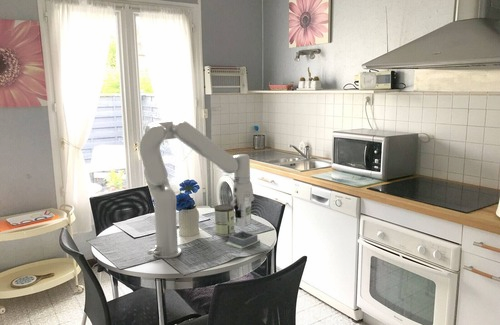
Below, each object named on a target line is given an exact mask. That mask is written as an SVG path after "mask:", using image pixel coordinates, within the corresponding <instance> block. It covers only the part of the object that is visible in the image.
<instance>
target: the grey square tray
mask: <svg viewBox="0 0 500 325" xmlns="http://www.w3.org/2000/svg"><path fill="white" fill-rule="evenodd" d="M241 238H246V239H241ZM258 239H259V236H258V234H255V233H252V232H249V231H245V230H241V231H239V232H235V233H234V234H232V235H229V236H228V242H231V243H234V244H237V245H240V246H243V247H244V246H246V245H249V244H251V243H254V242H256V241H258ZM256 243H257V242H256ZM254 244H255V243H254ZM249 246H250V245H249Z"/></svg>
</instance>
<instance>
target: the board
mask: <svg viewBox="0 0 500 325" xmlns="http://www.w3.org/2000/svg"><path fill="white" fill-rule="evenodd" d="M241 239H246V238H241ZM260 242H261V239H259V238H258V241H256V242H254V243H251V244H249V245H246V246H244V247H243V246H240V245H237V244H234V243H231V242H229V241H227V242H226V243H225V244H226V245H228V246H230V247H234V248H237V249H239V250H242V249H244V248H246V247H249V246H251V245H253V244H256V243H260Z"/></svg>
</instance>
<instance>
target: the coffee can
mask: <svg viewBox="0 0 500 325" xmlns="http://www.w3.org/2000/svg"><path fill="white" fill-rule="evenodd" d="M213 207H214V226H215V227H214V230H215V231H214V232H215V235H216V236H219V237H229V236H230V235H232V234H235V233H236V232H235V210H234V208H233V207H232V206H231V204H228V203H226V204H223V203H222V204H217V205H215V206H213Z"/></svg>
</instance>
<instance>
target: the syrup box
mask: <svg viewBox="0 0 500 325" xmlns="http://www.w3.org/2000/svg"><path fill="white" fill-rule="evenodd" d="M237 203H238V202H237ZM237 207H238V205H237ZM240 210H241V218H236V217H235V226H237V227H245V228H247V227H248V226H250V225H251V224H252V206H251V202H249V197H248V198H244V204H243V205H241V207H240Z"/></svg>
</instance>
